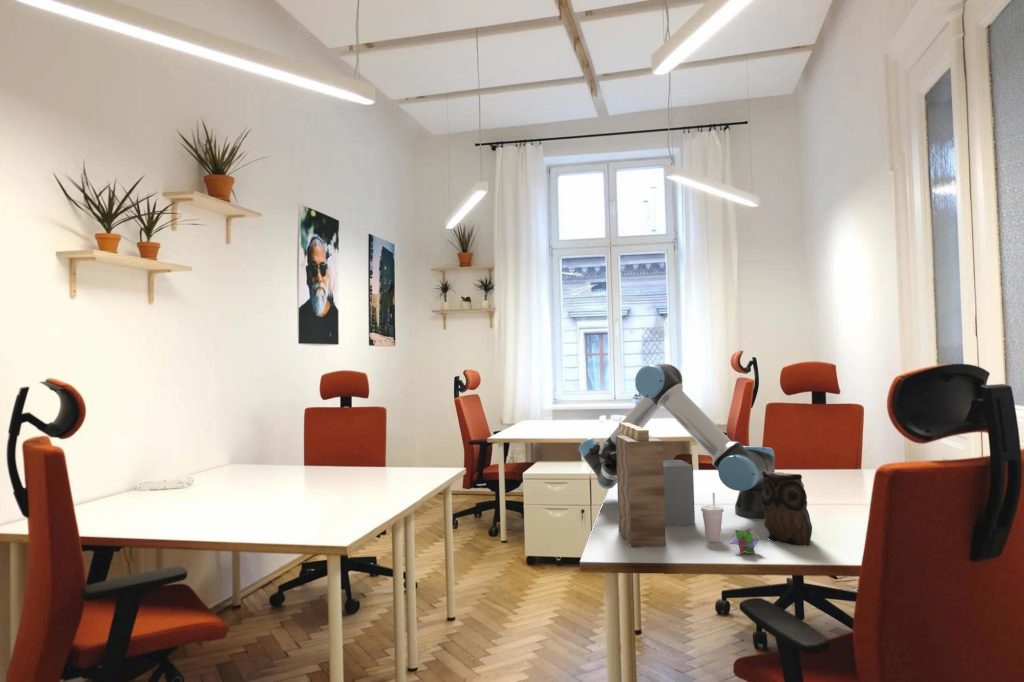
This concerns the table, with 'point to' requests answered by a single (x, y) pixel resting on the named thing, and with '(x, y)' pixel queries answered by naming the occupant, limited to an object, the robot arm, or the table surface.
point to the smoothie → (712, 521)
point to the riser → (678, 493)
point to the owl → (786, 508)
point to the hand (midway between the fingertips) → (622, 442)
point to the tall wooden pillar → (641, 491)
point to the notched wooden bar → (634, 431)
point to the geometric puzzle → (746, 540)
